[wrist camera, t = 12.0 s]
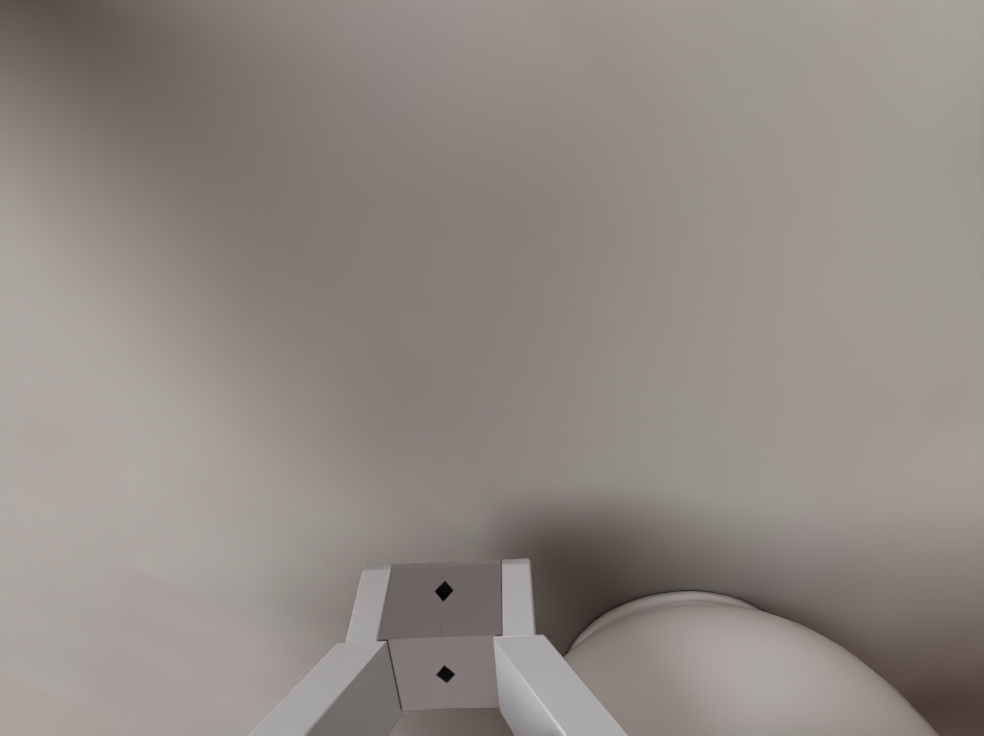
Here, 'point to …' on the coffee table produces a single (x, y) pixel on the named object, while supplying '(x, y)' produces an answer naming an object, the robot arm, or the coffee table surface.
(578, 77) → the coffee table surface
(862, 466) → the coffee table surface
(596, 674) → the lidded jar
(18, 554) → the coffee table surface
